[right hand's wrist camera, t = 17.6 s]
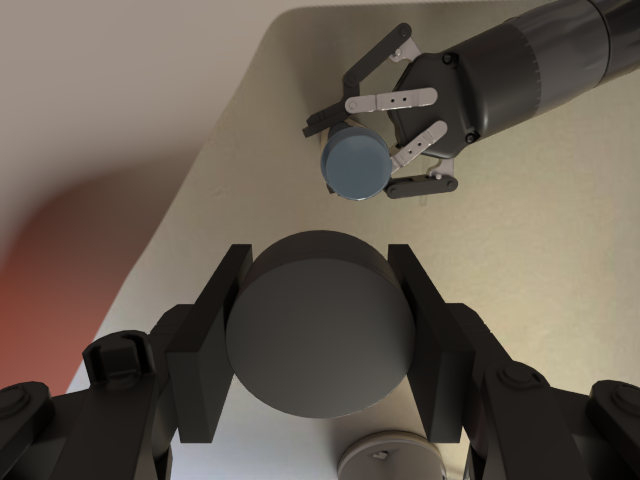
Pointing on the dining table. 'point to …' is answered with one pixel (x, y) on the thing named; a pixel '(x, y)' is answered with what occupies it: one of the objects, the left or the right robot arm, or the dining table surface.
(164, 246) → the dining table surface
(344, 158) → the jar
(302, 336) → the lid
